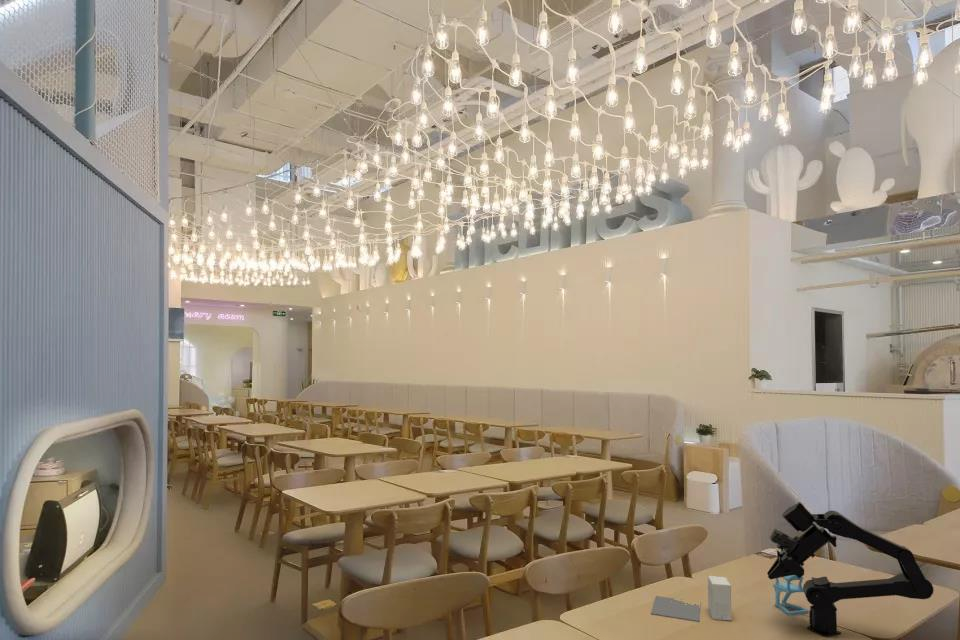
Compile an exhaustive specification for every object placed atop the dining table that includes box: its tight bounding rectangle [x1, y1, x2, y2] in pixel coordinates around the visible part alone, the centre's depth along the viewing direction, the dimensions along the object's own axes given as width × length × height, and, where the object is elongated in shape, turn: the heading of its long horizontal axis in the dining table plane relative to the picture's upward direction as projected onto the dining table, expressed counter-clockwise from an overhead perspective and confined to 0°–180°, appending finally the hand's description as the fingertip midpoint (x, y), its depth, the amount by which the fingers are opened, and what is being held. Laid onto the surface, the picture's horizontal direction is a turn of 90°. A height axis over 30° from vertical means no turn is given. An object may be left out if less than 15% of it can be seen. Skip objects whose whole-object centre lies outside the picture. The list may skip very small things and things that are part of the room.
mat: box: [650, 595, 701, 623], centre depth 196 cm, size 14×16×1 cm
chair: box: [772, 575, 809, 616], centre depth 198 cm, size 8×8×12 cm
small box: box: [707, 575, 732, 621], centre depth 192 cm, size 8×6×10 cm
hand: (768, 576), depth 187 cm, fingers open, 3 cm apart
